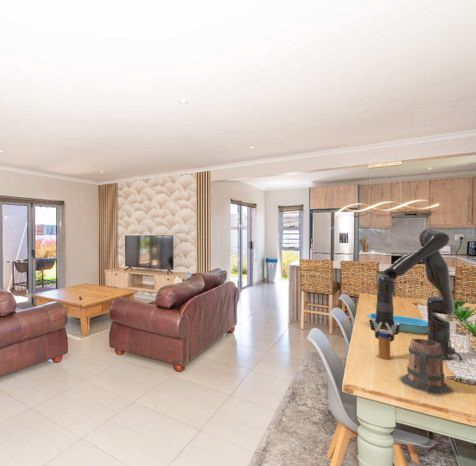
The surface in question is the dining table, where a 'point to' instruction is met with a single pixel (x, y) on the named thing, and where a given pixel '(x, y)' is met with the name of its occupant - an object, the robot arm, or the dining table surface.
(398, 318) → the casserole dish
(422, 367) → the tankard
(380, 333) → the lid
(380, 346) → the jar
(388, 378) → the dining table surface
